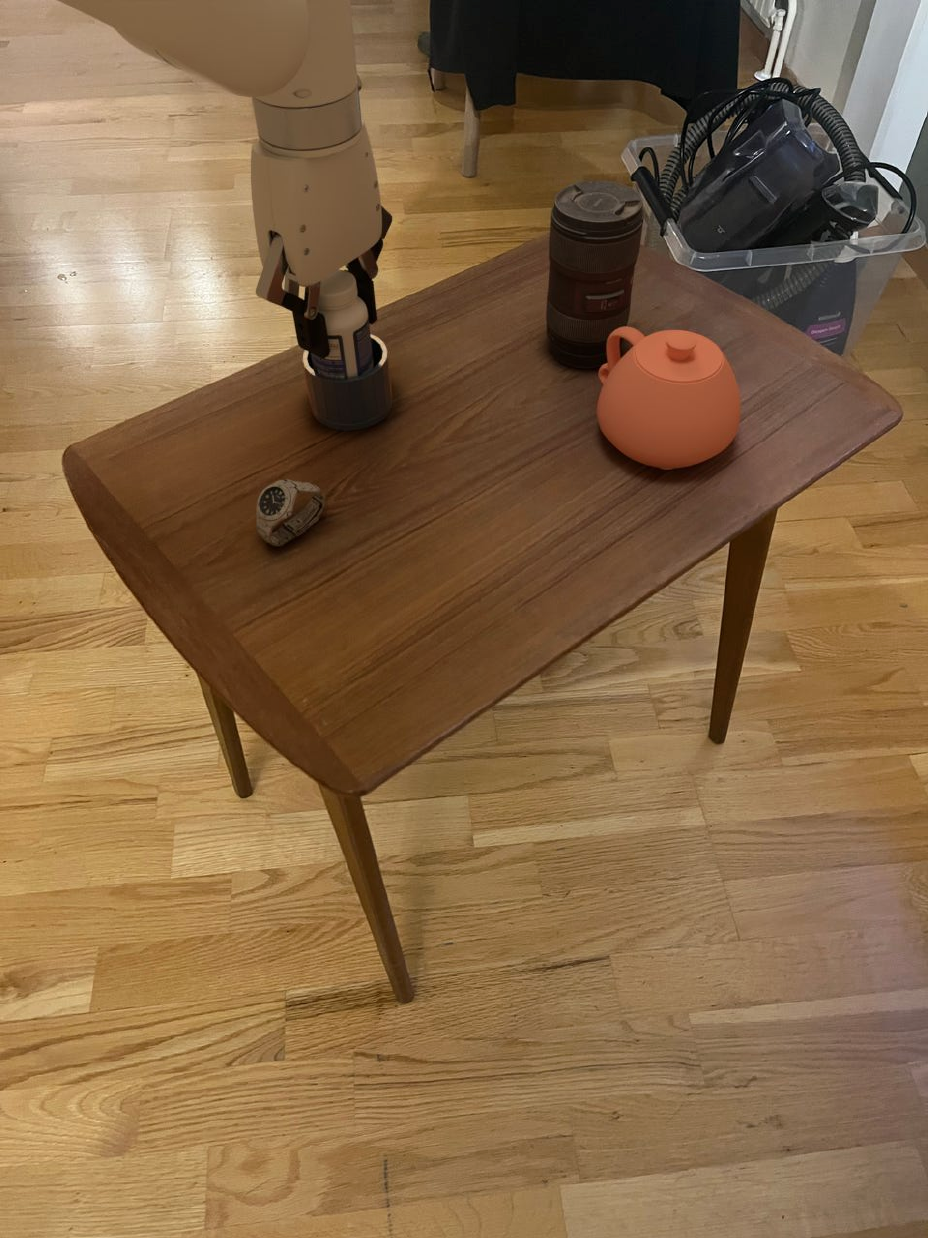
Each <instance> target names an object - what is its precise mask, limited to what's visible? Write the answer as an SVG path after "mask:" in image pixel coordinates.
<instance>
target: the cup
mask: <svg viewBox="0 0 928 1238" xmlns="http://www.w3.org/2000/svg"><path fill="white" fill-rule="evenodd" d="M370 334H371V343H372V353H373V362H374V368H373V369H372V370H371V371H369V372H367V373H365V374H362V375H360V376H356V377H351V378H331V377H326V376H323V375H321V374H319V373H317V372H315V371H314V368H313V362H312V356H311V353H310V352H308V351H306V350H304V349H303V353H302V357H301V362H302V368H303V373H304V378H305V385H306V388H307V393H308V400H309V404H310V409H311V413H312V415H313V417H314V418H315V419H316V420H317V421H318V422H319V423H320V424H321V425H322V426H325V427H327V428H329V429H332V430H337V431H343V432H351V431H359V430H365V429H368V428H371V427H373V426H375V425H377V424H379V423H380V422H382V421H383V420H384V419H385V418H386V417H387V416H388V415H389V414H390V412H391V410H392V407H393V405H394V404H393V403H394V401H393V387H392V378H391V367H390V357H389V349H388V347H387V346H386V343H385V342H384V341H383V340H382V339H380V338H379V337H378V336H377V335H375V334H372V333H370Z"/></svg>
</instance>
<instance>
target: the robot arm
mask: <svg viewBox="0 0 928 1238" xmlns="http://www.w3.org/2000/svg"><path fill="white" fill-rule="evenodd" d="M56 1H57V2H60V3H62V4H63V5H66V6H68V7H71V8H73V9H75V10H77V11H79V12H81V13H83V14H85V15H86V16H87V15H88V16H89V17H92V18H93V19H95V20H97V21H99V22H100V23H103V24H105V25H107V26H109V27H111V28H113V29H114V31H116V32H117V34H119V35H120V36H121V37H122V39H124V40H125V41H126V42H127V43H128V44H129V45H131V46H133V47H134V48H135V49H137V50H139V51H141V52H142V53H144V54H145V55H148V56H150V57H152V58H154V59H155V60H158V61H160V62H162V63H164V64H167V65H168V66H171V67H173V68H176V69H178V70H181V71H183V72H185V73H187V74H190V75H192V76H194V77H196V78H198V79H201V80H203V81H205V82H207V83H208V84H211V85H213V86H215V87H216V88H219V89H221V90H223V91H225V92H227V93H229V94H232V95H235V96H238V97H245V98H251V103H252V108H253V114H254V120H255V124H256V130H257V136H258V140H257V141H256V142H254V143H253V144H252V145H251V149H250V150H251V152H250V188H251V189H250V190H251V201H252V212H253V219H254V228H255V235H256V242H257V243H256V244H257V249H258V254H259V258H260V262H261V266H262V270H261V273H260V276H259V279H258V282H257V285H256V288H255V295H256V296H257V297H258V298H260V299H262V300H264V301H267V302H269V303H271V304H273V305H277V306H280V307H282V308H284V309H286V310H287V311H290V312H291V315H292V320H293V325H294V331H295V336H296V341H297V345H298V346H299V348H301V349H302V350H303V351H304V350H306V351H308V352H310V353H313V354H315V355H317V356H319V357H321V358H323V359H324V358H326V357H327V356H329V353H330V349H329V342H328V335H327V328H326V322H325V317H324V315H323V314H321V313H319V312H318V306H319V295H320V284H321V280H323V279H324V278H326V277H327V276H329V275H331V274H332V273H334V272H335V271H337V270H341V269H342V268H343V267H345V268H346V269H343V270H344V271H347V272H349V273H351V274H352V275H353V276H354V277H355V280H356V286H357V296H358V297H359V298H361V299H362V300H363V301H364V303H365V305H366V307H367V311H368V318H369V325H374V324H375V323H376V322H378V313H377V312H378V311H377V302H376V292H375V282H374V281H373V280H374V279H375V278H376V277H377V276H378V273H379V265H378V260H379V258H380V255H381V252H382V250H383V247H384V240H385V238H386V236H387V234H388V232H389V230H390V227H391V225H392V224H393V215H392V213H390V212H389V211H388V210H387V209H386V208H385V207H384V206H383V205H382V202H381V193H380V185H379V180H378V179H379V178H378V174H377V167H376V163H375V157H374V153H373V148H372V144H371V140H370V137H369V133H368V130H367V129H368V128H367V126H366V123H365V121H364V120H363V119H362V111H361V101H360V92H361V90H362V87H363V83H362V80H361V78H360V76H359V74H358V72H357V71H358V70H357V60H356V50H355V38H354V29H353V17H352V7H351V0H56ZM283 282H284V283H283ZM283 284H284V285H283ZM283 286H284V287H283ZM300 287H302V288H304V295H303V298H302V297H300Z"/></svg>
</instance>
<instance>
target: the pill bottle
mask: <svg viewBox="0 0 928 1238" xmlns="http://www.w3.org/2000/svg"><path fill="white" fill-rule="evenodd" d="M344 270H345V269H339V270H337V271H335V272H334V273H332V274H331V275H329V276H327V277H326V278H324V279H323V280H321V284H320V295H319V306H318V312H319V313H321V314H323V315H324V317H325V322H326V328H327V335H328V342H329V349H330V353H329V356H327V357H326V358H324V359H323V358H321V357H319V356H317V355H315V354H313V353H311V356H312V362H313V368H314V371H315V372H317V373H319V374H321V375H323V376H326V377H331V378H351V377H356V376H360V375H362V374H365V373H367V372H369V371H371V370H372V369H373V368H374V362H373V353H372V343H371V334H372V333H371V328H370V324H369V318H368V311H367V307H366V305H365V303H364V301H363V300H362V299H361V298H359V297H358V296H357V286H356V280H355V277H354V276H353V275H352V274H351V273H349V272H347V271H344Z"/></svg>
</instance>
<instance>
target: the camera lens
mask: <svg viewBox="0 0 928 1238" xmlns="http://www.w3.org/2000/svg"><path fill="white" fill-rule="evenodd" d="M643 203H644V202H643V198H642V196H641V195H640V193H639V192H638V191H636V190H635V189H634V188H631V187H630V186H627V185H625V184H623V183H619V182H614V181H611V180H586V181H585V180H584V181H579V182H575V183H573V184H570V185H567V186H565V187H563V188H562V189H561V190H559V191H558V192H557V193H556V195H555V197H554V201H553V206H552V207H551V210H550V223H549V240H548V260H549V272H548V284H547V285H548V287H547V294H546V307H545V308H546V310H545V322H546V336H547V339H548V340H549V350H550V352H551V354H552V355H553V357H554V358H555V359H556V360H557V361H558V362H560V363H562V364H564V365H566V366H568V367H573V368H576V369H577V368H578V369H594V368H598V367H601V366H602V365H603V364H606V363H608V360H607V340H608V337H609V335H610V334H611V333H612V332H613V331H614V330H615V329H617V328H620V327H625V326H628V323H629V319H630V314H631V305H632V293H633V286H634V285H633V284H634V278H635V270H636V269H635V268H636V265H637V261H638V258H639V254H640V248H641V240H642V234H643V225H644V221H645V220H644V219H645V212H644V209H643ZM624 340H625V339H624V338H621V337H620V341H619V346H620V345H621V344H623V341H624Z"/></svg>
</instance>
